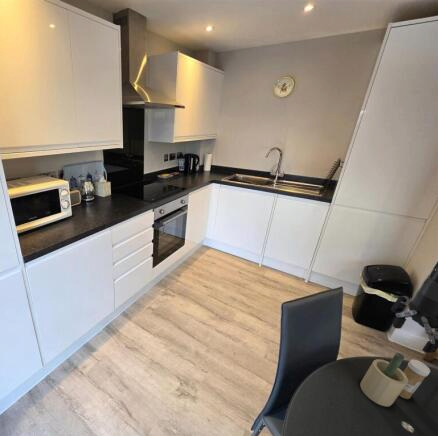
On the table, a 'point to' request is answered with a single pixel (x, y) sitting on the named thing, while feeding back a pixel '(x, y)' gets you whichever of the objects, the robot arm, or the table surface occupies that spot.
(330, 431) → the table surface
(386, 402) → the jar
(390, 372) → the brush
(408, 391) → the sprinkles bottle
